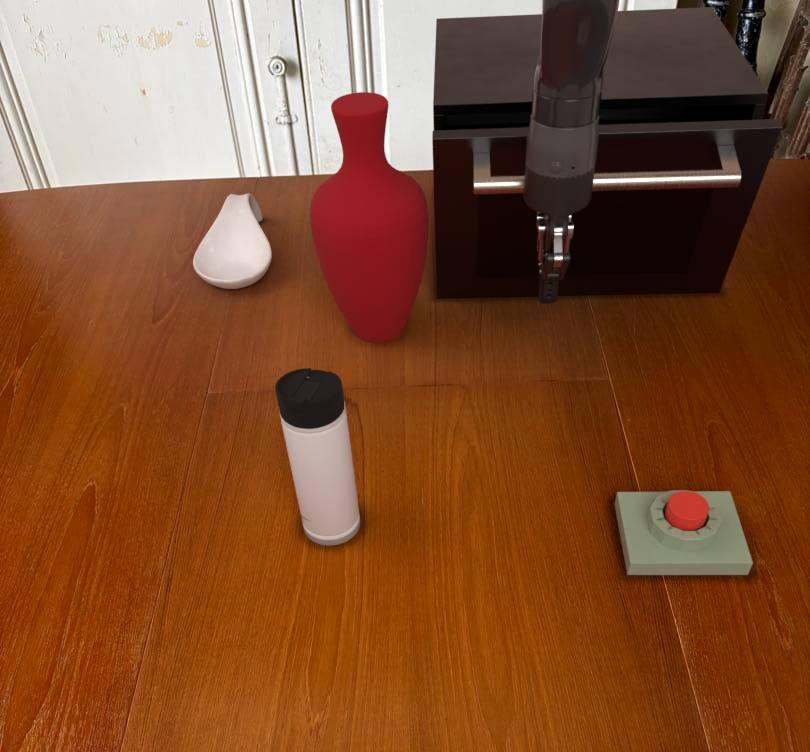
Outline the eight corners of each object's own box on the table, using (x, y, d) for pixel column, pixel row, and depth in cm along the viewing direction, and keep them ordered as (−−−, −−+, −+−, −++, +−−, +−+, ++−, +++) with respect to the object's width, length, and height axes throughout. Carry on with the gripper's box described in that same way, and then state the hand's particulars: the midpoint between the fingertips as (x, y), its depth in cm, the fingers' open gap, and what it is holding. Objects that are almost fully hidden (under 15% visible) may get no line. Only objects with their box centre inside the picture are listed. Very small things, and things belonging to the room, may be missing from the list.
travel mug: (294, 543, 88) (260, 397, 73) (316, 500, 92) (289, 354, 77) (348, 554, 87) (325, 408, 72) (368, 511, 91) (351, 364, 76)
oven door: (725, 323, 113) (792, 158, 90) (436, 329, 115) (431, 170, 93) (717, 286, 116) (780, 118, 94) (437, 292, 118) (432, 130, 96)
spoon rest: (273, 298, 120) (264, 253, 115) (194, 303, 120) (181, 258, 115) (282, 219, 136) (275, 176, 130) (212, 224, 136) (202, 181, 130)
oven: (716, 287, 116) (768, 93, 97) (437, 293, 119) (433, 105, 99) (675, 183, 137) (712, 6, 118) (439, 190, 140) (436, 18, 120)
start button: (701, 502, 84) (704, 490, 83) (709, 531, 82) (713, 519, 80) (661, 502, 84) (665, 490, 83) (668, 531, 82) (672, 519, 81)
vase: (448, 312, 115) (446, 85, 93) (404, 372, 107) (390, 137, 84) (356, 292, 120) (332, 71, 97) (307, 348, 111) (269, 119, 89)
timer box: (725, 505, 89) (734, 479, 86) (747, 576, 82) (758, 551, 79) (614, 505, 89) (619, 479, 86) (626, 576, 83) (633, 551, 80)
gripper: (603, 186, 83) (583, 330, 96) (588, 131, 92) (572, 270, 105) (529, 188, 83) (519, 332, 96) (521, 133, 92) (513, 272, 105)
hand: (547, 299), depth 101 cm, fingers closed
